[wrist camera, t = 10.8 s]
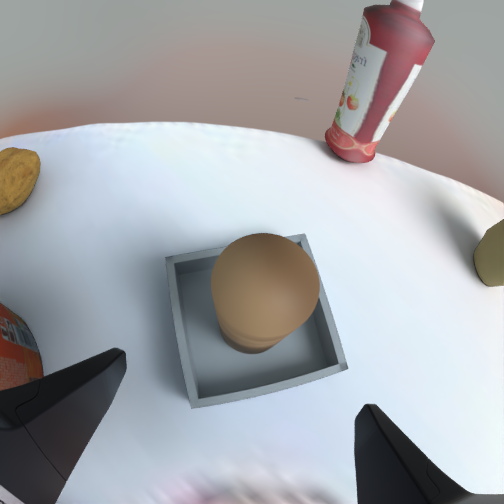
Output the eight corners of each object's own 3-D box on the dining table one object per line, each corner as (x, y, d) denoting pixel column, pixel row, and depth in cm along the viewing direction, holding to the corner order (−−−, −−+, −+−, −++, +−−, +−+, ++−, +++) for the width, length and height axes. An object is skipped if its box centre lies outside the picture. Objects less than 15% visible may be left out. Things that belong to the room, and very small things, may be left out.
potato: (9, 170, 27) (-10, 140, 21) (62, 169, 27) (42, 130, 21) (-19, 222, 23) (-45, 195, 17) (30, 231, 23) (-1, 196, 17)
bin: (196, 404, 18) (191, 408, 15) (172, 272, 23) (165, 257, 20) (333, 370, 20) (348, 368, 17) (296, 250, 25) (305, 233, 22)
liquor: (377, 176, 30) (475, -20, 5) (321, 163, 30) (398, -64, 5) (368, 140, 34) (439, -30, 9) (319, 127, 34) (374, -61, 9)
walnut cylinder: (244, 367, 19) (255, 359, 11) (206, 315, 21) (189, 268, 12) (295, 328, 21) (340, 292, 12) (257, 280, 22) (274, 216, 14)
